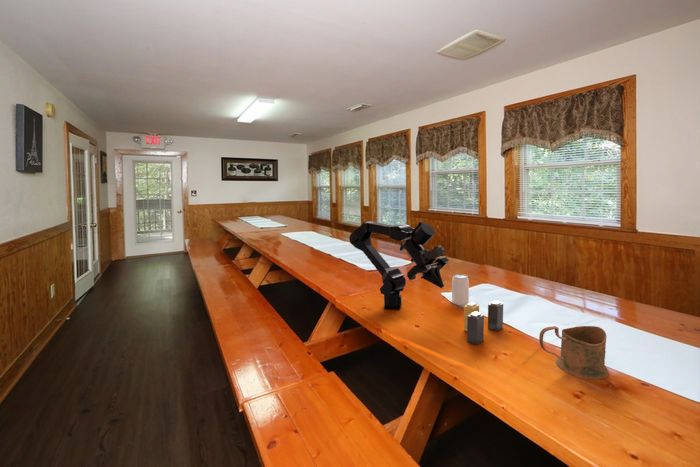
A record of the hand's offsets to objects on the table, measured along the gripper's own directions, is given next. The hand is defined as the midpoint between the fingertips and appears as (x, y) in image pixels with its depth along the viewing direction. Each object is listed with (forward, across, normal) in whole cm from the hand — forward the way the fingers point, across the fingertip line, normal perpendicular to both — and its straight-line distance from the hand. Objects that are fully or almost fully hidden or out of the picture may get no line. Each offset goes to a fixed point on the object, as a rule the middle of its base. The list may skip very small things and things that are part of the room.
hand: (442, 287), depth 119 cm
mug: (+38, -1, -19) cm, 43 cm away
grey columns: (+17, 0, +2) cm, 17 cm away
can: (+6, +20, +13) cm, 25 cm away
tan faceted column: (+17, 0, +1) cm, 17 cm away
